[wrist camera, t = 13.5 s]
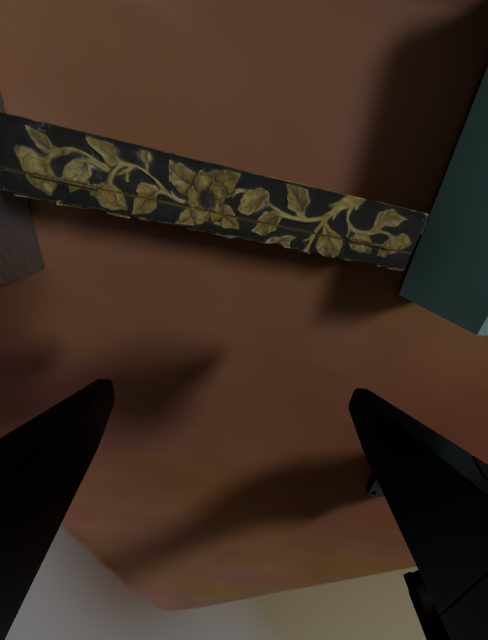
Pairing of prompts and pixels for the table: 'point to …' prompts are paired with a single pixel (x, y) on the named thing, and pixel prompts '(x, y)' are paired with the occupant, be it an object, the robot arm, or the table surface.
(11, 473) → the robot arm
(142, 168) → the decorative block
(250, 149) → the table surface
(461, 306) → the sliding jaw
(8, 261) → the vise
